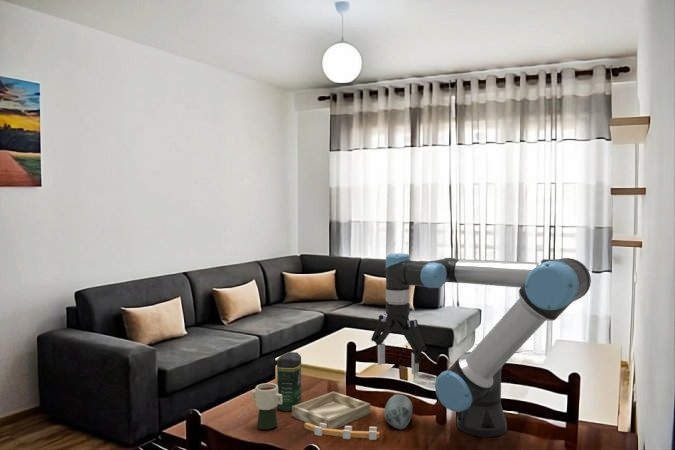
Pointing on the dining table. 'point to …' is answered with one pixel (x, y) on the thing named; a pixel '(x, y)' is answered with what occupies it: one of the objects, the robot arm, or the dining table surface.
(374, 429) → the clips
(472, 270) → the robot arm
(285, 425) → the dining table surface
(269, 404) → the character mug
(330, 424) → the wooden tray
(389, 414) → the grey patterned ovoid
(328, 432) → the cable
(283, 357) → the coffee jar
